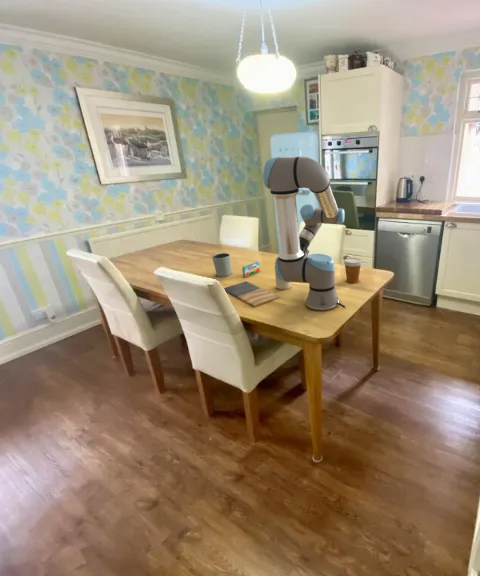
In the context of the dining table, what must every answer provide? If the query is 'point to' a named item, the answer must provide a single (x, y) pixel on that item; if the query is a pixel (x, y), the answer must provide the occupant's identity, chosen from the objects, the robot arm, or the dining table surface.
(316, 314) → the dining table surface
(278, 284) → the can
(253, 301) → the board
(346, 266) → the disposable coffee cup
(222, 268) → the grey cylindrical pot
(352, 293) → the dining table surface
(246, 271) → the colorful food box
